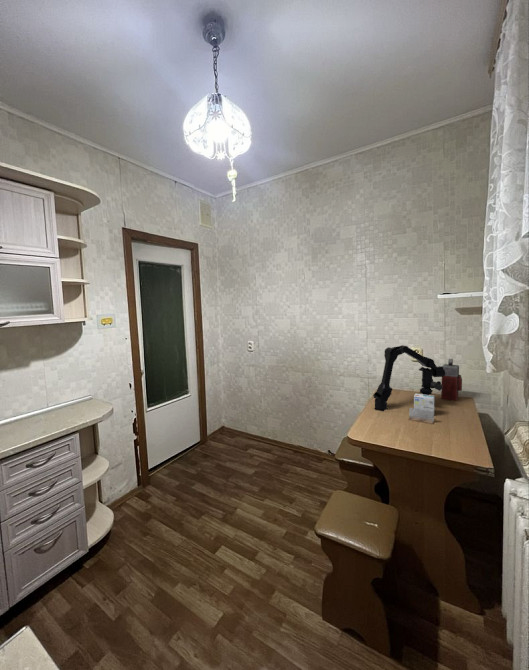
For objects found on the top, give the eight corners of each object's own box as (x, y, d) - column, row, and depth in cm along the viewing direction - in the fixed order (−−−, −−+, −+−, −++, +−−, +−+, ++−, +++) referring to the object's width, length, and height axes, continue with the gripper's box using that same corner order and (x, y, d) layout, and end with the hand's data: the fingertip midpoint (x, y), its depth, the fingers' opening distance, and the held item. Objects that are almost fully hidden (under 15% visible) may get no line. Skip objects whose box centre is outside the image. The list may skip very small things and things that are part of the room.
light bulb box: (434, 412, 170) (434, 395, 169) (434, 416, 164) (434, 398, 163) (414, 409, 175) (414, 392, 174) (413, 413, 170) (413, 395, 169)
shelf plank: (408, 419, 160) (408, 418, 160) (409, 418, 162) (409, 417, 162) (433, 424, 153) (433, 423, 153) (433, 422, 155) (433, 421, 155)
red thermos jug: (461, 402, 186) (462, 360, 184) (441, 399, 193) (441, 359, 191) (462, 399, 193) (463, 358, 191) (443, 396, 200) (444, 357, 198)
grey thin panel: (409, 418, 162) (409, 408, 161) (409, 417, 163) (409, 407, 162) (433, 422, 155) (433, 412, 154) (433, 421, 156) (433, 411, 155)
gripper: (441, 382, 169) (440, 407, 170) (442, 375, 184) (442, 399, 185) (419, 380, 175) (419, 404, 177) (423, 374, 191) (423, 396, 192)
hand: (426, 401), depth 182 cm, fingers closed
